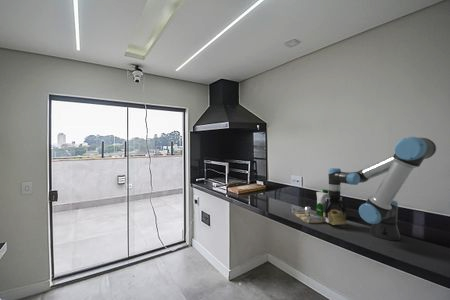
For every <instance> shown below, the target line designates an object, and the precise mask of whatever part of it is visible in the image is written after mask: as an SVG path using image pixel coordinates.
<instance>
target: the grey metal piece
mask: <svg viewBox="0 0 450 300" xmlns="http://www.w3.org/2000/svg"><path fill="white" fill-rule="evenodd" d="M311 210H312V209H311V206H305V207H304V208H299V209H294V213H296V214H303V213H305V217H307V220H308V221H322V220H323V219H322V216H320V215H314V216H310V214H311Z"/></svg>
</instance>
